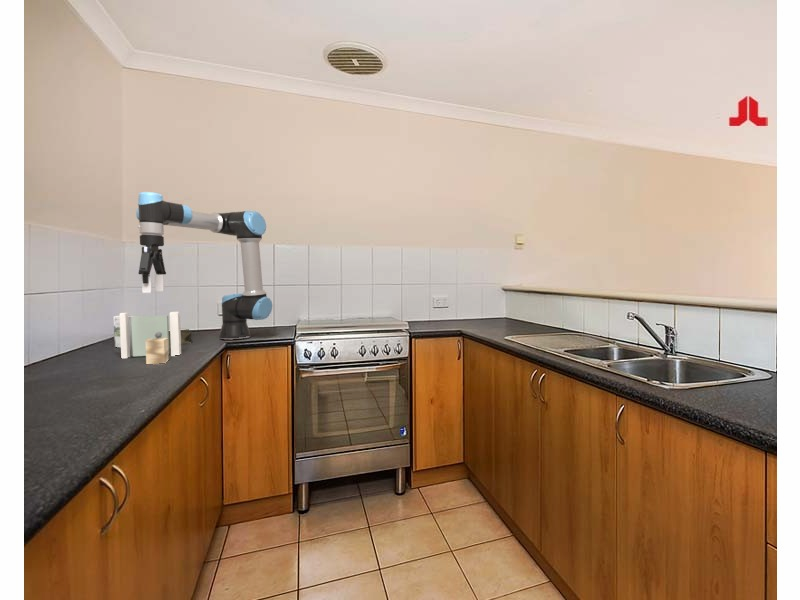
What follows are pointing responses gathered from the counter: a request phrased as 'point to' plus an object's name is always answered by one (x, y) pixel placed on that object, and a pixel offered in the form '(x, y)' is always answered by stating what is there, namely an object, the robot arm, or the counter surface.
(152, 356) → the tan rectangular block
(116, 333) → the syrup box
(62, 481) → the counter surface
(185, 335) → the beverage carton
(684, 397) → the counter surface
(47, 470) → the counter surface
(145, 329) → the door
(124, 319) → the white piece
